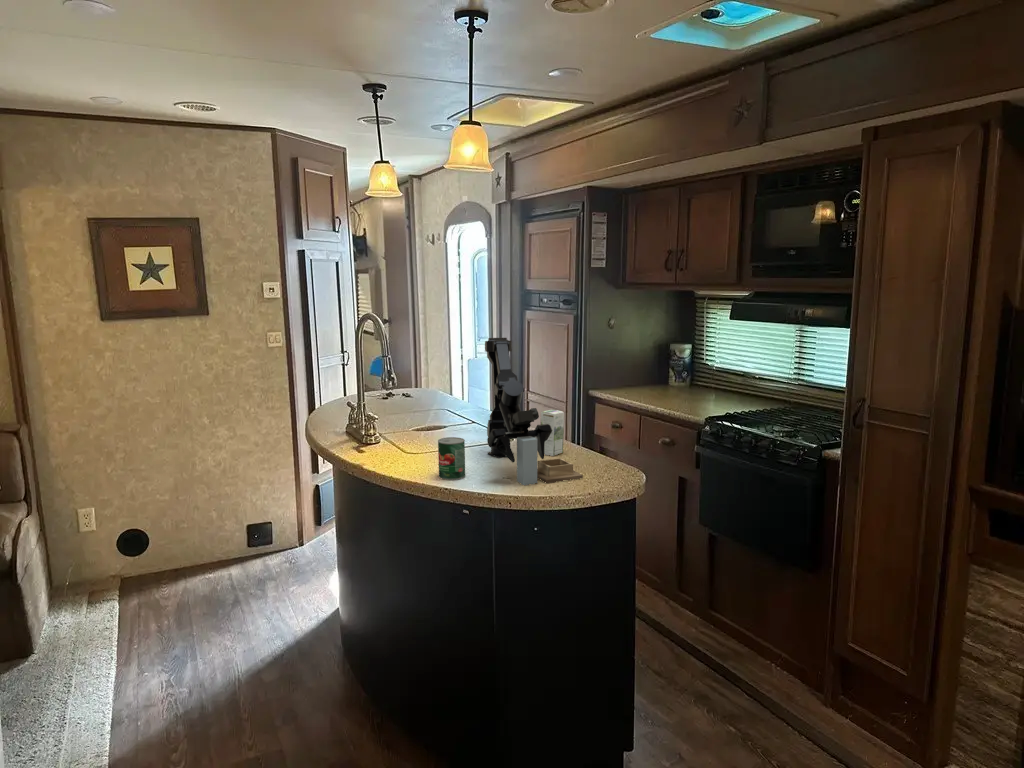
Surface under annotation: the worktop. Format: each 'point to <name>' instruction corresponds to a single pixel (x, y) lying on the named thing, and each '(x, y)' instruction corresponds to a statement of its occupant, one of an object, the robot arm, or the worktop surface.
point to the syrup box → (554, 431)
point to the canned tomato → (451, 458)
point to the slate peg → (527, 460)
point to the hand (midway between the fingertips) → (528, 460)
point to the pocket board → (556, 470)
